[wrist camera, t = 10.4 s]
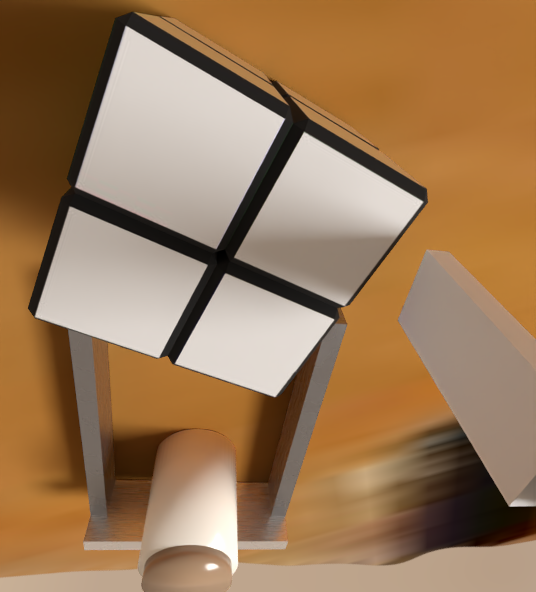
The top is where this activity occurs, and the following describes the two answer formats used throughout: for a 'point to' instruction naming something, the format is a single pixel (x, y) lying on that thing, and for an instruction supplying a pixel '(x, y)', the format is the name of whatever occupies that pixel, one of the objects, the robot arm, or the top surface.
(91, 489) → the lane
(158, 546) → the canister
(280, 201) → the puzzle cube
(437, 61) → the top surface
